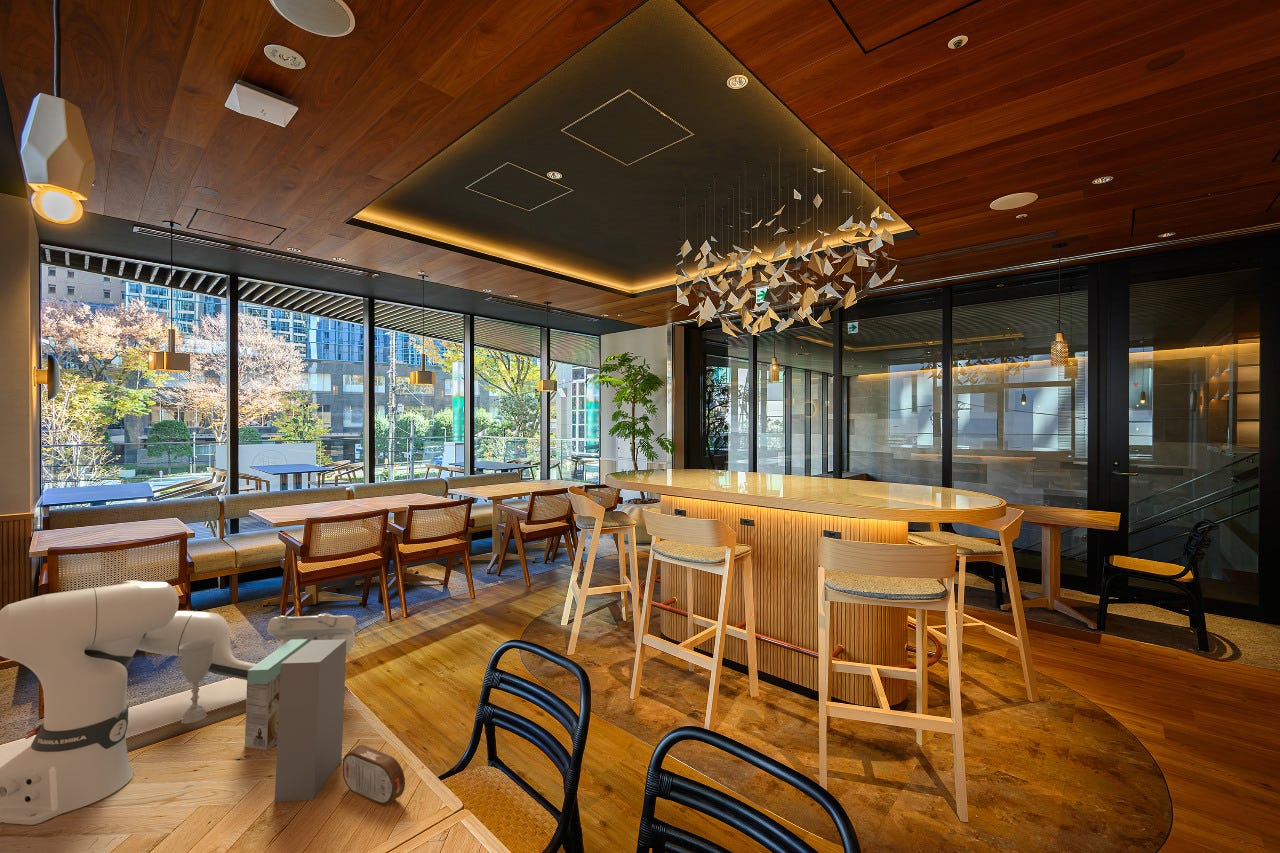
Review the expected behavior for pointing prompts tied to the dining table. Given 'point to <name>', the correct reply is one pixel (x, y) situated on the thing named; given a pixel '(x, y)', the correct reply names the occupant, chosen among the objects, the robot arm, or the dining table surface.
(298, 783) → the stand
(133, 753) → the dining table surface
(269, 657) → the mint green bar
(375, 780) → the tin
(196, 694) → the chalice
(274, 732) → the coffee box
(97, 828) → the dining table surface
